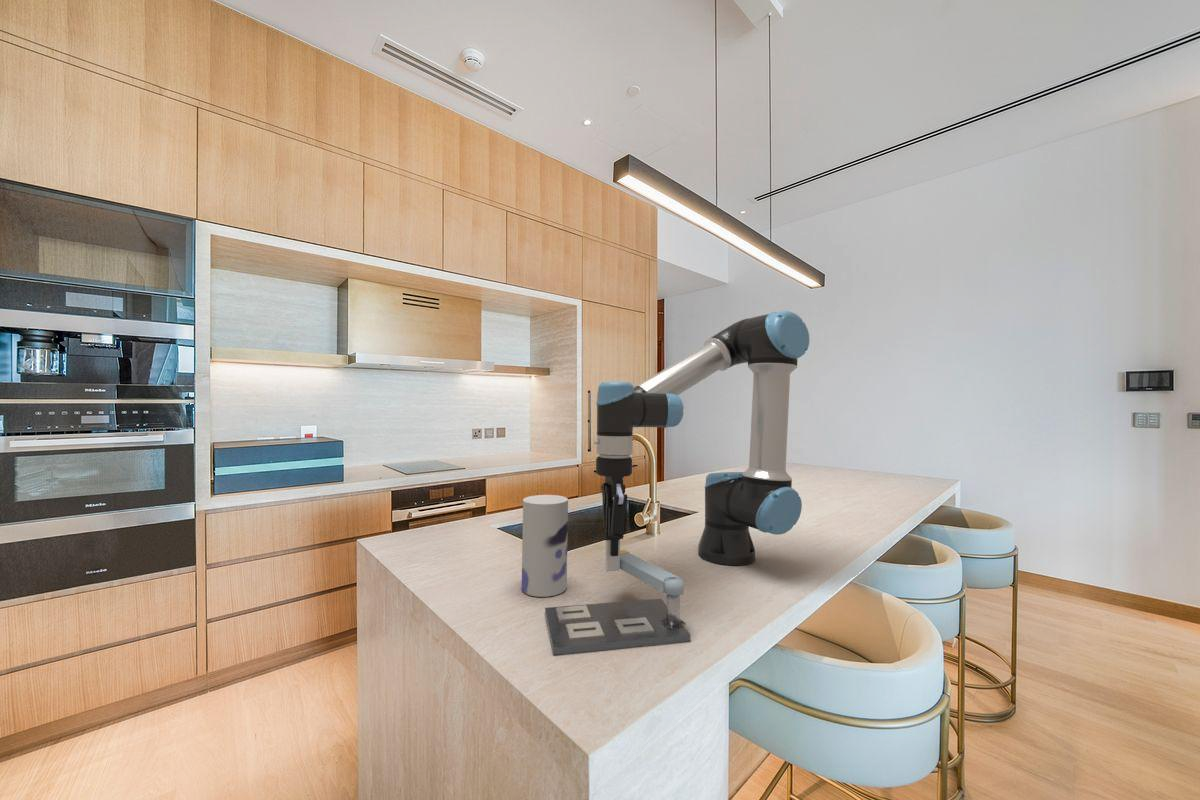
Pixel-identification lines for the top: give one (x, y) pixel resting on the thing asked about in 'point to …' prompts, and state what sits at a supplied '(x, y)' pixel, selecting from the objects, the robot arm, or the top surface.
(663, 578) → the grey long bar
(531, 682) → the top surface
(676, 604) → the post
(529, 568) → the container
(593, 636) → the slotted grey board
